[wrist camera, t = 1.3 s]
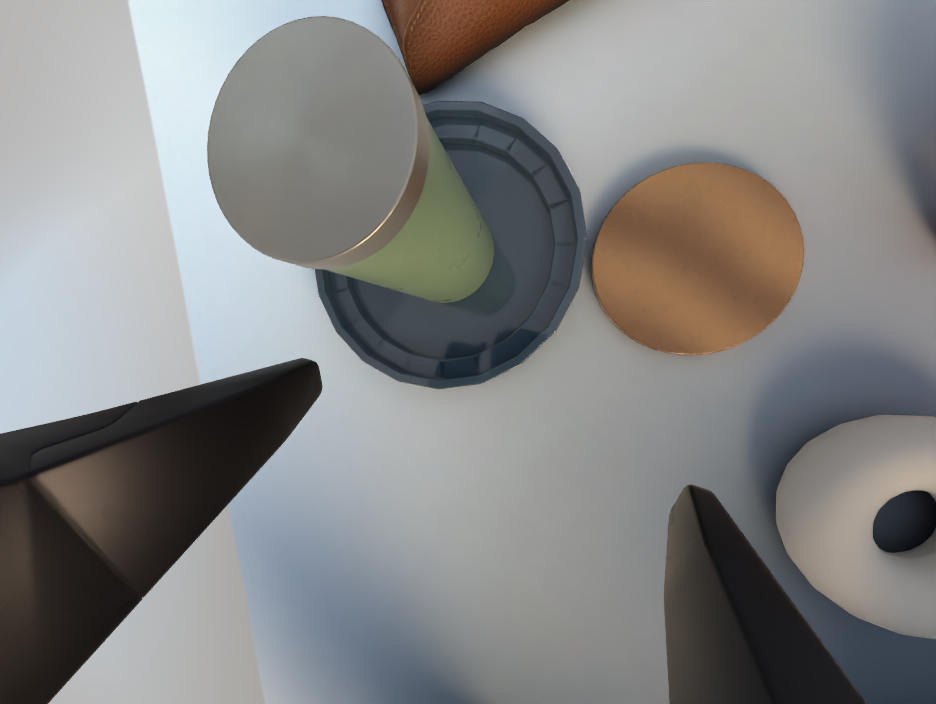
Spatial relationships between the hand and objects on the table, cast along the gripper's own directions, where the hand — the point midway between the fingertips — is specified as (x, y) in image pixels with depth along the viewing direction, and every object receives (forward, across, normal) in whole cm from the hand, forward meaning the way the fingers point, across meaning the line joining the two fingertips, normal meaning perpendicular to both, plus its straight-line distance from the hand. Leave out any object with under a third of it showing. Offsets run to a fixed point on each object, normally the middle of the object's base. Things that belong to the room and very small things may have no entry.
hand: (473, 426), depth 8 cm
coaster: (+16, -6, 0) cm, 18 cm away
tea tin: (+14, +7, +1) cm, 16 cm away
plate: (+14, +7, +1) cm, 16 cm away
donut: (+13, -18, +9) cm, 23 cm away
